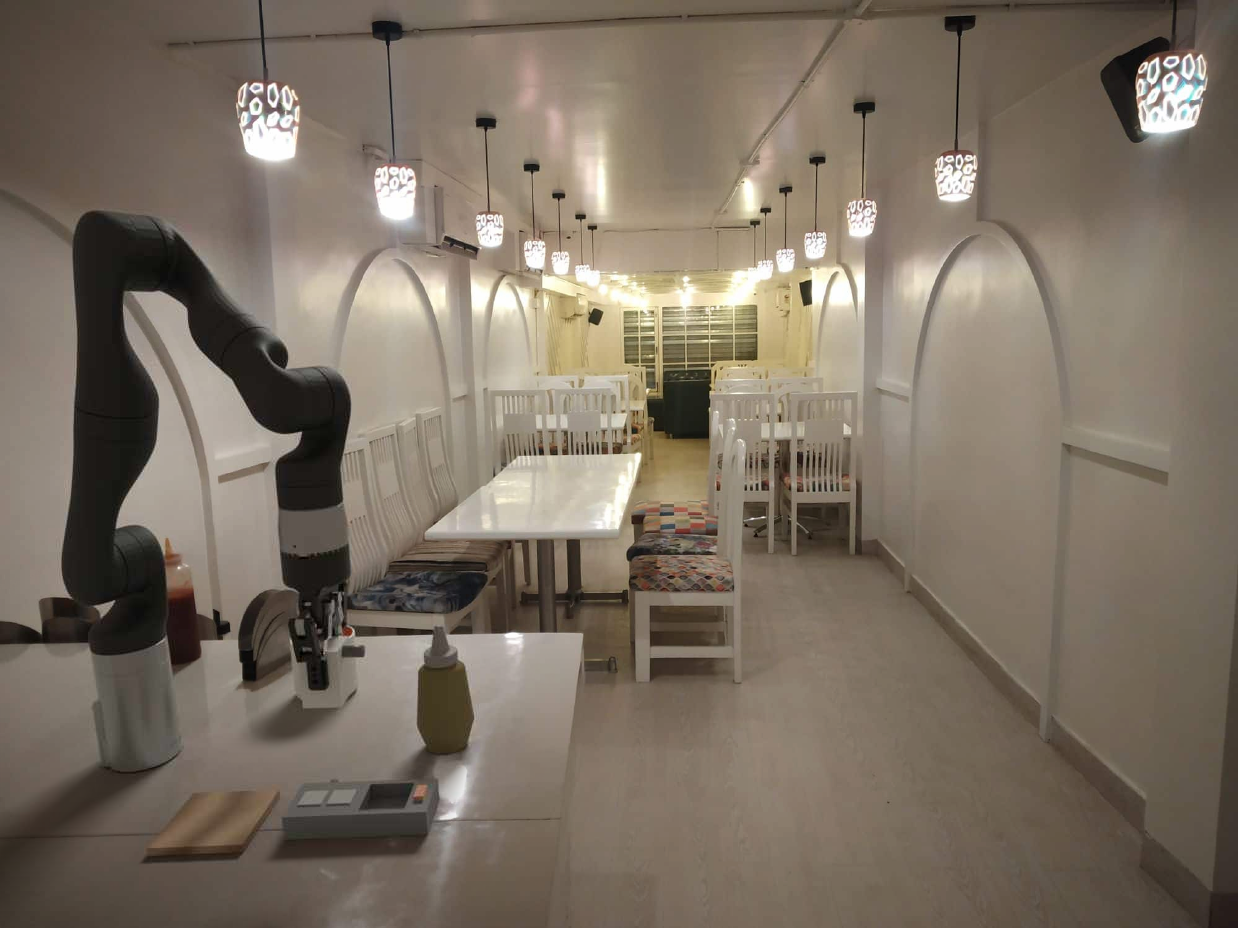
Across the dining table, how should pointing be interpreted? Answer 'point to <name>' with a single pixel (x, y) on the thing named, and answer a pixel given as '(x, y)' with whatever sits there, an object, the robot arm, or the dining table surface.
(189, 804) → the walnut board
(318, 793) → the power strip
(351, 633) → the cup
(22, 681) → the dining table surface
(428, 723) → the squeeze bottle
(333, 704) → the block
